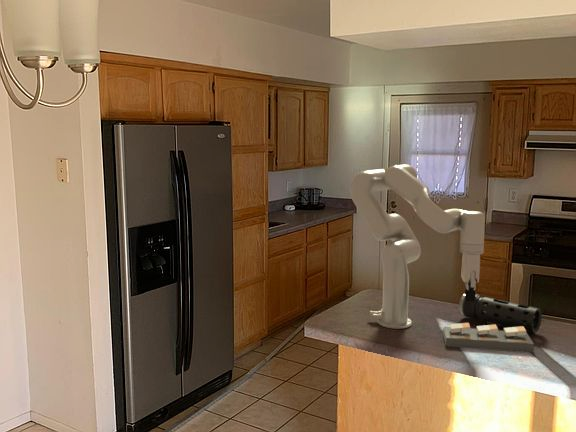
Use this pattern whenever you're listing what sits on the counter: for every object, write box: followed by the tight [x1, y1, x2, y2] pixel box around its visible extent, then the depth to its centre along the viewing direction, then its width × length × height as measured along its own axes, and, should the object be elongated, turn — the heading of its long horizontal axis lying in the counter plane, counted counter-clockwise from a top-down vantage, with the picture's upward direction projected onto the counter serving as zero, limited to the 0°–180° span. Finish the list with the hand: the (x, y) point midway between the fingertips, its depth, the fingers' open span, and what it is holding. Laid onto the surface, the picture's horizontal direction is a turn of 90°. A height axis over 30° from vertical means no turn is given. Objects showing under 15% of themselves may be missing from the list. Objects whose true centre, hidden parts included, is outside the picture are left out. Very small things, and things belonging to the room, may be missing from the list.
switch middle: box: [476, 324, 499, 334], centre depth 196 cm, size 6×5×2 cm
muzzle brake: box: [458, 293, 543, 336], centre depth 213 cm, size 10×28×10 cm, turn 47°
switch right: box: [503, 326, 527, 336], centre depth 194 cm, size 6×5×2 cm
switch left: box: [449, 322, 472, 333], centre depth 198 cm, size 6×5×2 cm
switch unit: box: [442, 326, 535, 354], centre depth 196 cm, size 28×11×4 cm, turn 80°
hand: (470, 300), depth 195 cm, fingers closed
